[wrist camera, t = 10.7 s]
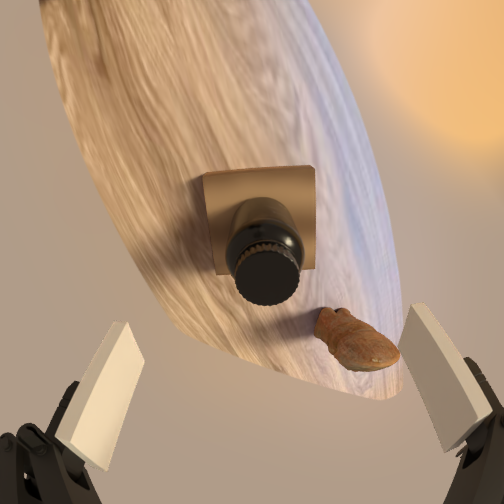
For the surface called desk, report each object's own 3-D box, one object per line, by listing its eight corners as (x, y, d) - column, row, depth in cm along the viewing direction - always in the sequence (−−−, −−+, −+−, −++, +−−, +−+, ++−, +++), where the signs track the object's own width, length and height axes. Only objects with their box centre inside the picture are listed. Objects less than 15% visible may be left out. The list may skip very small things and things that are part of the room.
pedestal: (206, 172, 31) (202, 176, 29) (309, 165, 31) (314, 168, 28) (219, 263, 36) (216, 275, 34) (310, 257, 36) (315, 268, 33)
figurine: (310, 330, 41) (327, 410, 28) (318, 286, 38) (345, 366, 24) (360, 328, 41) (390, 401, 28) (373, 286, 38) (416, 358, 24)
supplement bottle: (265, 263, 33) (268, 331, 22) (219, 227, 31) (199, 284, 20) (306, 222, 31) (331, 276, 20) (260, 182, 29) (262, 216, 18)
